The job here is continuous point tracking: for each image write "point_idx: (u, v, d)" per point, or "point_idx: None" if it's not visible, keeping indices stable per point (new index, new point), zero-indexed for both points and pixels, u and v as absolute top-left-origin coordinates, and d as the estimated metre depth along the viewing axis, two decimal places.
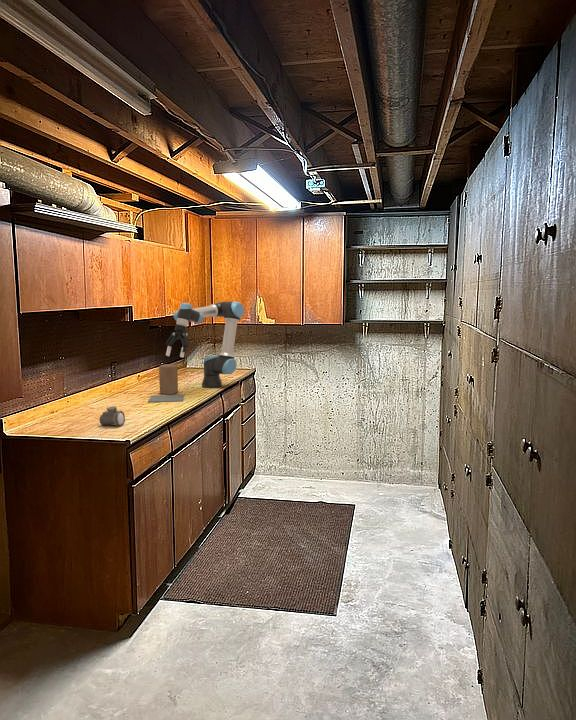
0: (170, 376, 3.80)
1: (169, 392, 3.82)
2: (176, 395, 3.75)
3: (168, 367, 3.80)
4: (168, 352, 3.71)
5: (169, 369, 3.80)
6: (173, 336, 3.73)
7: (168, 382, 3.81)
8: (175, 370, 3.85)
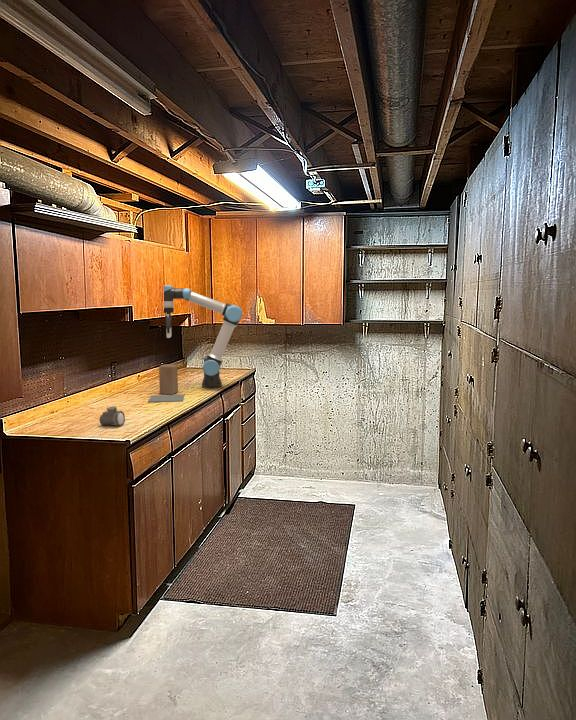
0: (170, 376, 3.80)
1: (169, 392, 3.82)
2: (176, 395, 3.75)
3: (168, 367, 3.80)
4: None
5: (168, 369, 3.80)
6: None
7: (168, 382, 3.81)
8: (175, 370, 3.85)
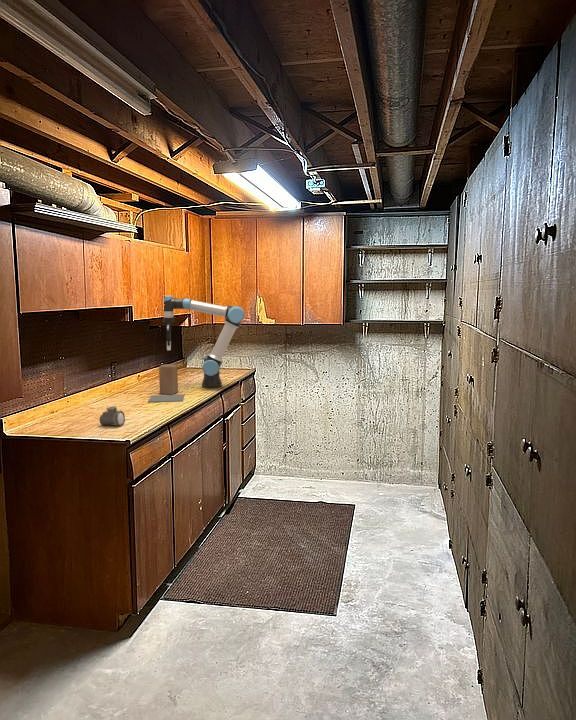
0: (170, 376, 3.80)
1: (169, 392, 3.82)
2: (176, 395, 3.75)
3: (168, 367, 3.80)
4: None
5: (168, 369, 3.80)
6: None
7: (168, 382, 3.81)
8: (175, 370, 3.85)
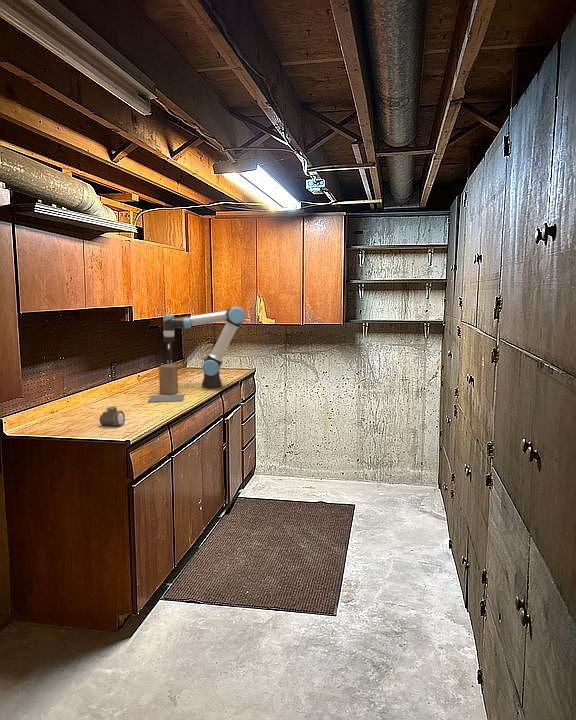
0: (170, 376, 3.80)
1: (169, 392, 3.82)
2: (176, 395, 3.75)
3: (168, 367, 3.80)
4: None
5: (169, 369, 3.80)
6: None
7: (168, 382, 3.81)
8: (175, 370, 3.85)
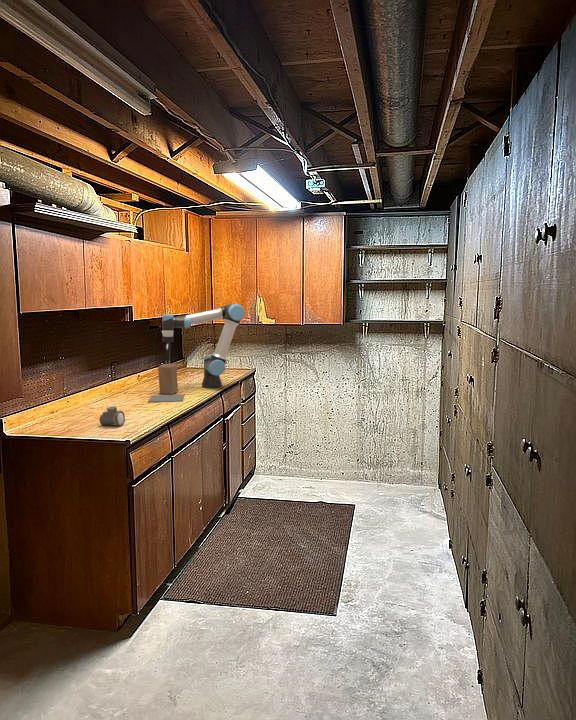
0: (169, 376, 3.79)
1: (169, 392, 3.81)
2: (176, 395, 3.75)
3: (167, 367, 3.78)
4: None
5: (168, 370, 3.78)
6: None
7: (167, 383, 3.80)
8: (174, 370, 3.83)
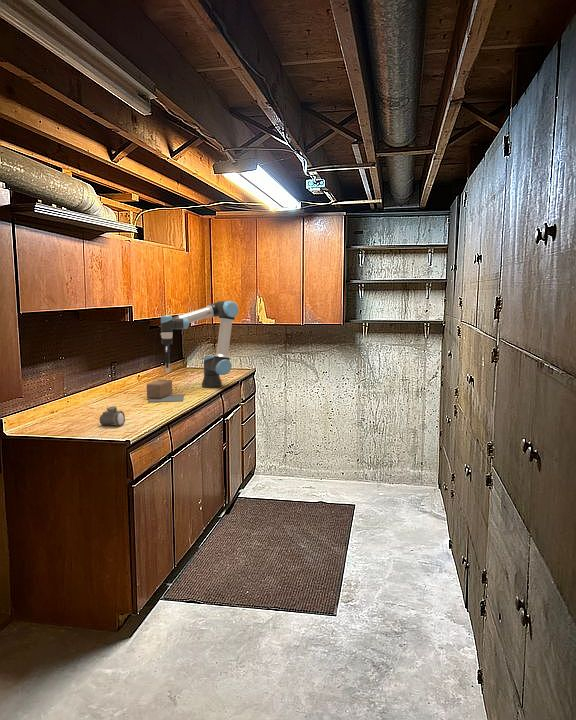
0: None
1: None
2: (176, 395, 3.75)
3: (157, 398, 3.63)
4: None
5: None
6: None
7: None
8: (162, 390, 3.65)
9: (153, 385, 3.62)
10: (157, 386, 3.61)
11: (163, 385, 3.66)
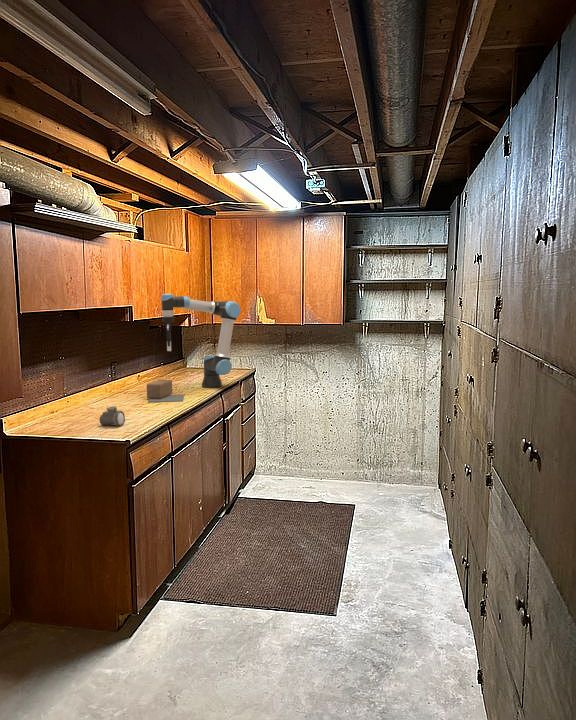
0: None
1: None
2: (176, 395, 3.75)
3: (157, 398, 3.63)
4: None
5: None
6: None
7: None
8: (162, 390, 3.65)
9: (153, 385, 3.62)
10: (157, 386, 3.61)
11: (163, 385, 3.66)
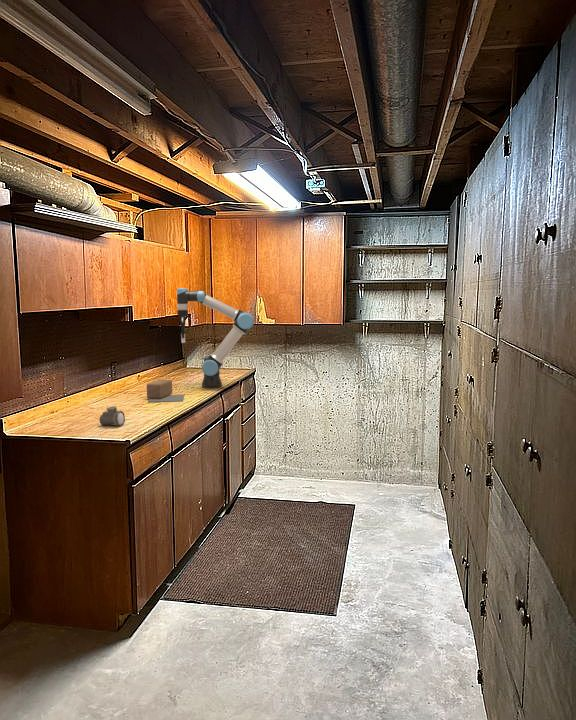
0: None
1: None
2: (176, 395, 3.75)
3: (157, 398, 3.63)
4: None
5: None
6: (183, 322, 4.01)
7: None
8: (162, 390, 3.65)
9: (153, 385, 3.62)
10: (157, 386, 3.61)
11: (163, 385, 3.66)
